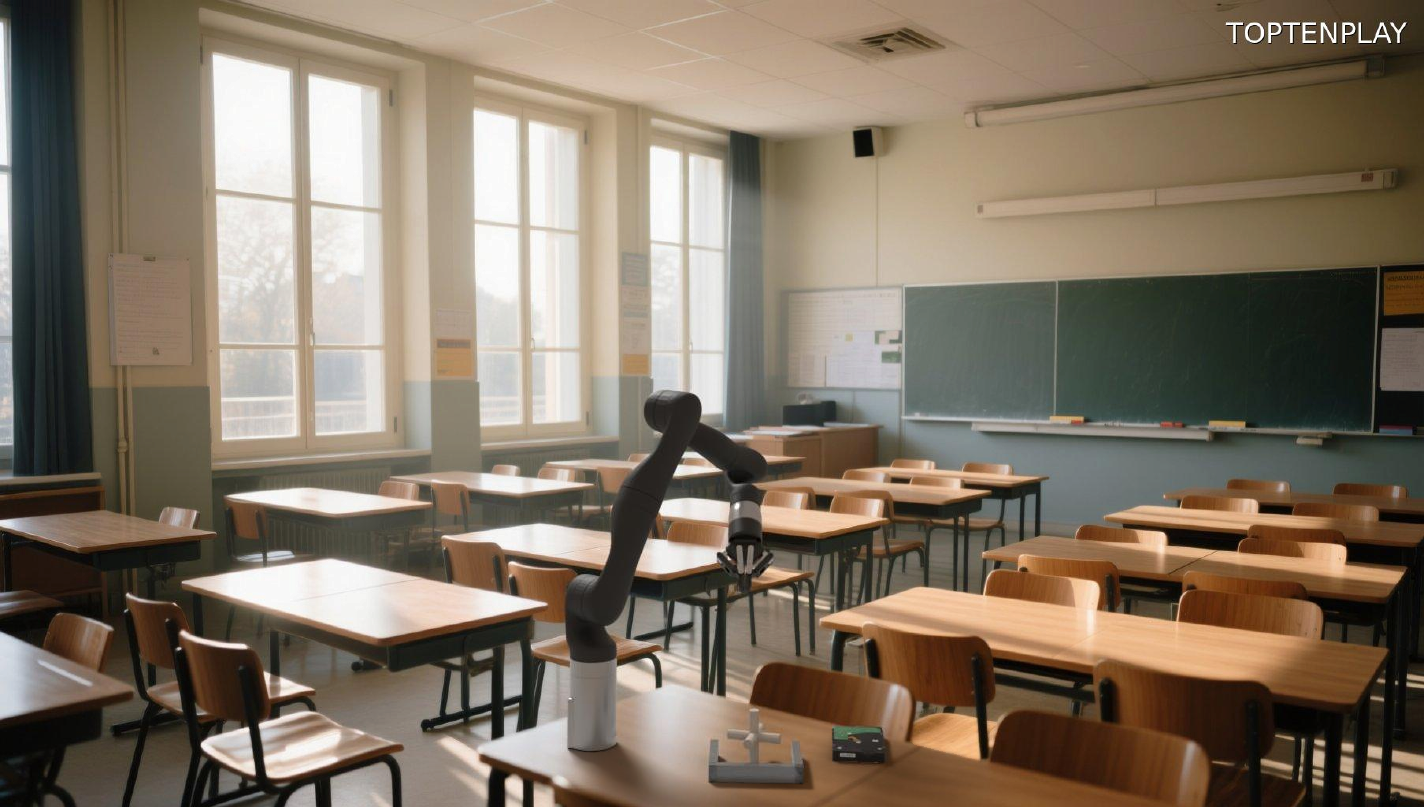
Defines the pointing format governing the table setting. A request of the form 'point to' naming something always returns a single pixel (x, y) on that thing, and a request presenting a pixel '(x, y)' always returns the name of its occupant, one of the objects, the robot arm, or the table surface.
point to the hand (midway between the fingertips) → (744, 591)
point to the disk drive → (858, 744)
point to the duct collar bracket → (756, 769)
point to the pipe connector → (754, 736)
